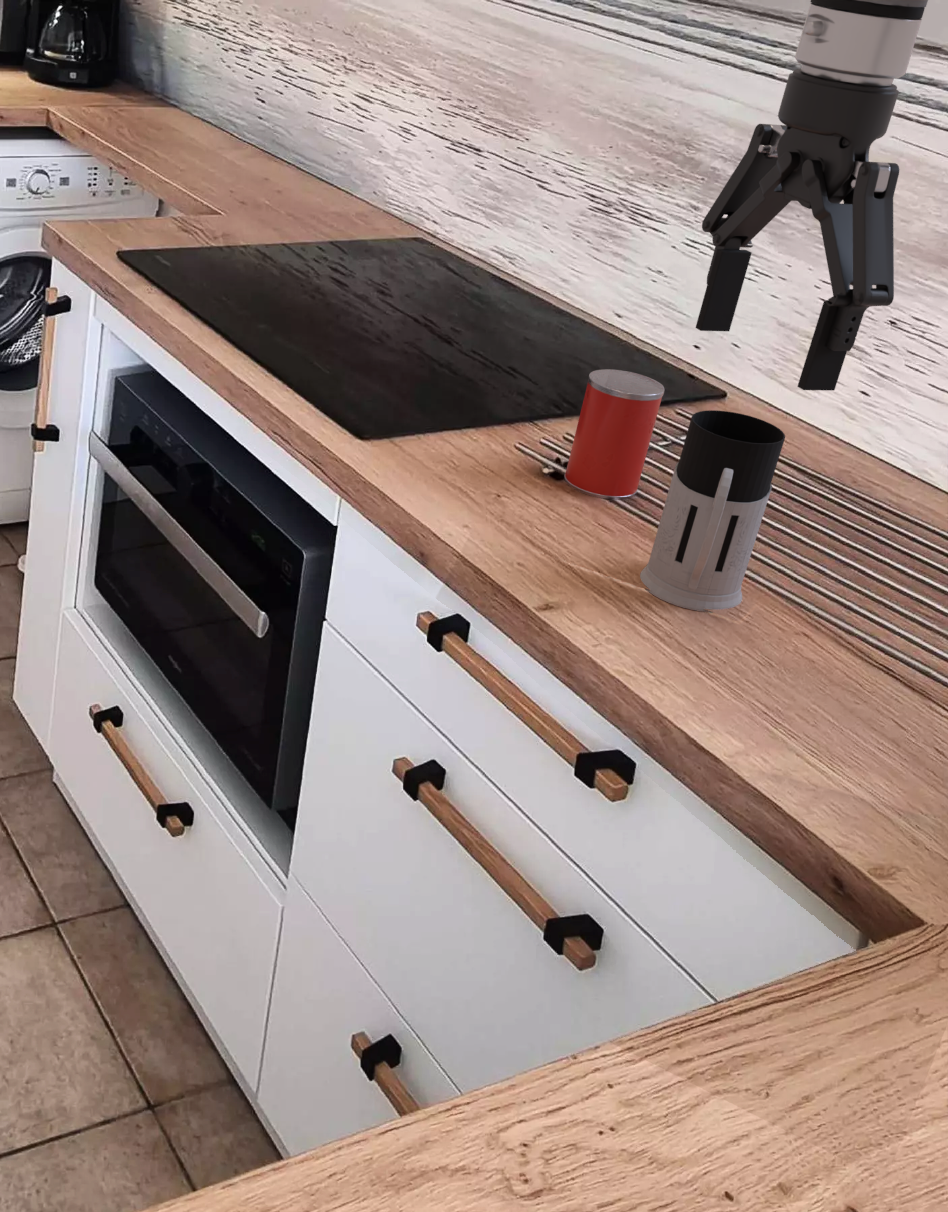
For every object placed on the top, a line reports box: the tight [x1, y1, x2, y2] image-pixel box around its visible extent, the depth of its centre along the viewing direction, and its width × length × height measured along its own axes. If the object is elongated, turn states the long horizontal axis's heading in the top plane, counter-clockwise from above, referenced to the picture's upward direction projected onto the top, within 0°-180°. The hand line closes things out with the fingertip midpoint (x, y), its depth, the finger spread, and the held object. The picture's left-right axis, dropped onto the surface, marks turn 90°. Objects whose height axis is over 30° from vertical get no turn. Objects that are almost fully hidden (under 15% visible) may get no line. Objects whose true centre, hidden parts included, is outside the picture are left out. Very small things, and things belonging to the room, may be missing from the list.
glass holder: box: [639, 409, 786, 613], centre depth 132 cm, size 9×14×15 cm, turn 159°
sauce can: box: [563, 368, 665, 501], centre depth 154 cm, size 7×7×11 cm
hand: (761, 358), depth 123 cm, fingers open, 13 cm apart
